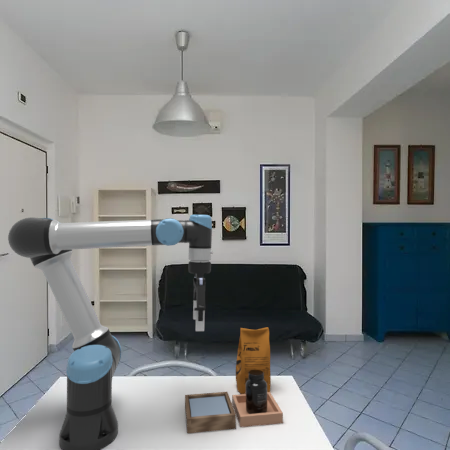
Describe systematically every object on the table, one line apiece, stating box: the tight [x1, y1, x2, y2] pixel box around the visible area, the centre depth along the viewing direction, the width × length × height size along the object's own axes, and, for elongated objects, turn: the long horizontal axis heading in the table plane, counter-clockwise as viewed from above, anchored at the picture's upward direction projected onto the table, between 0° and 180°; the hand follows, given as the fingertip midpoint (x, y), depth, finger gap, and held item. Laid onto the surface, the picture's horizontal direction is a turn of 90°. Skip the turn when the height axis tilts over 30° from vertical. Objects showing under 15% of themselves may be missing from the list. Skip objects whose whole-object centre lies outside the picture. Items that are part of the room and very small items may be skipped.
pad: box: [189, 396, 230, 417], centre depth 103 cm, size 11×11×1 cm
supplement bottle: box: [246, 370, 267, 414], centre depth 106 cm, size 7×7×12 cm
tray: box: [231, 391, 284, 428], centre depth 106 cm, size 13×13×3 cm
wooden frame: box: [184, 391, 237, 434], centre depth 103 cm, size 14×14×4 cm
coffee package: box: [235, 327, 272, 394], centre depth 122 cm, size 10×12×22 cm
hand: (198, 324), depth 112 cm, fingers open, 13 cm apart
